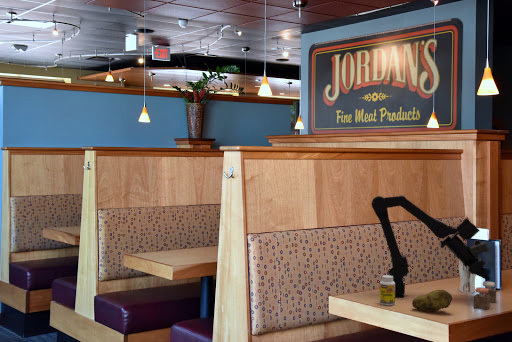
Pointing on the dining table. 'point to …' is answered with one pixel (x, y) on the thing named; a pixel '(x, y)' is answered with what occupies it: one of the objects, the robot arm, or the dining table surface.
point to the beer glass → (466, 279)
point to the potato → (433, 301)
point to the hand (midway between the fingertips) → (489, 279)
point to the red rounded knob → (482, 291)
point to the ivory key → (489, 285)
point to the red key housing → (482, 302)
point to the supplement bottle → (387, 290)
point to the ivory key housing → (492, 295)
